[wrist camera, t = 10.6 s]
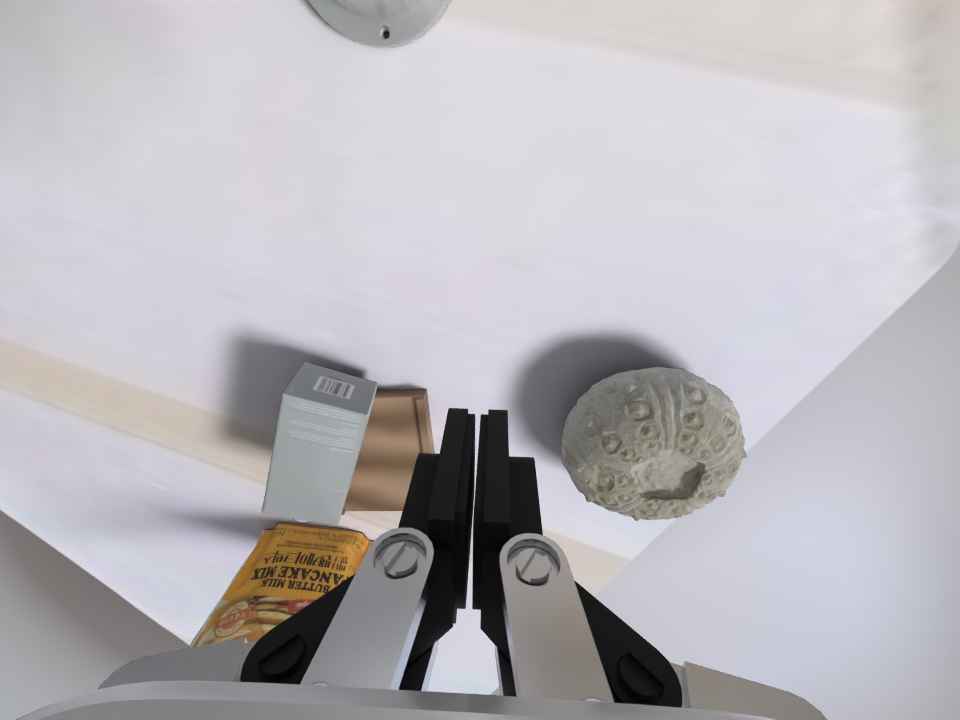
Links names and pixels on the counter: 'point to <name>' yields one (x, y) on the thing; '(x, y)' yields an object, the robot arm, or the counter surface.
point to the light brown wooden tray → (390, 451)
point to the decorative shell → (653, 443)
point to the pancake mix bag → (283, 579)
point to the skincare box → (317, 444)
